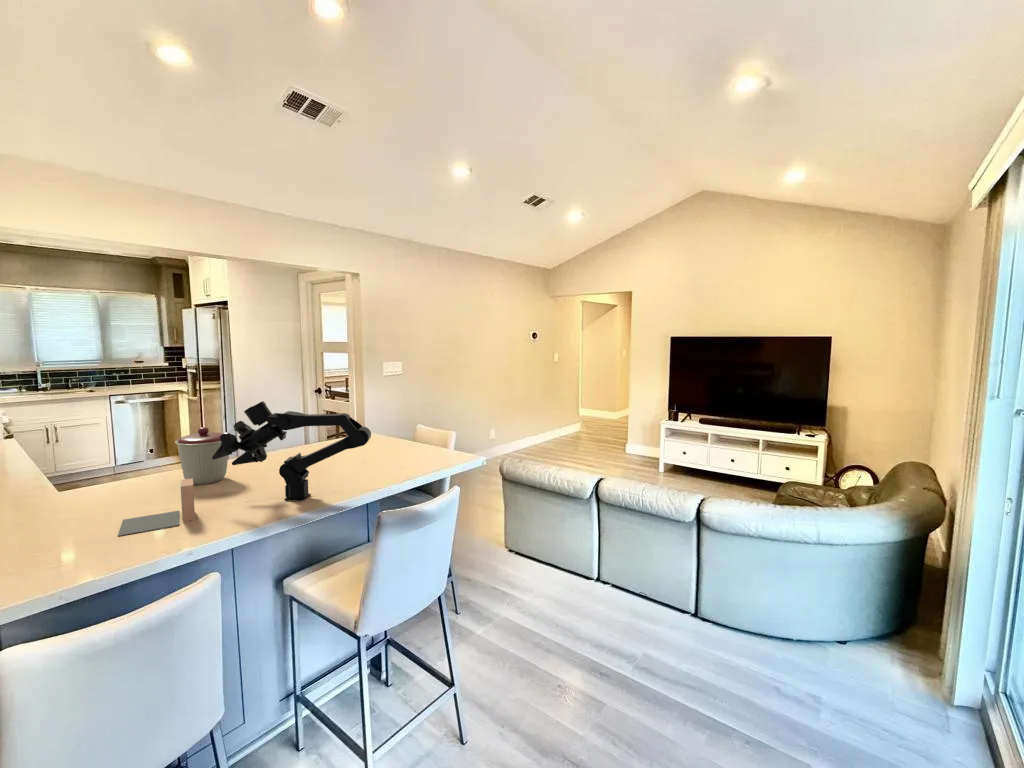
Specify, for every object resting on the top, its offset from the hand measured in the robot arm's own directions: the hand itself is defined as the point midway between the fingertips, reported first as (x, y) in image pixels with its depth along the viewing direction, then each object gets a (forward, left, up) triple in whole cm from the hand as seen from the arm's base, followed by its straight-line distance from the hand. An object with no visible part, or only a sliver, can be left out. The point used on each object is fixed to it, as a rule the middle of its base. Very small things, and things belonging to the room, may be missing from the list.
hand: (222, 461), depth 160 cm
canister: (+22, -21, -14) cm, 33 cm away
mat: (+9, +21, -14) cm, 26 cm away
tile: (+2, +15, -14) cm, 20 cm away
